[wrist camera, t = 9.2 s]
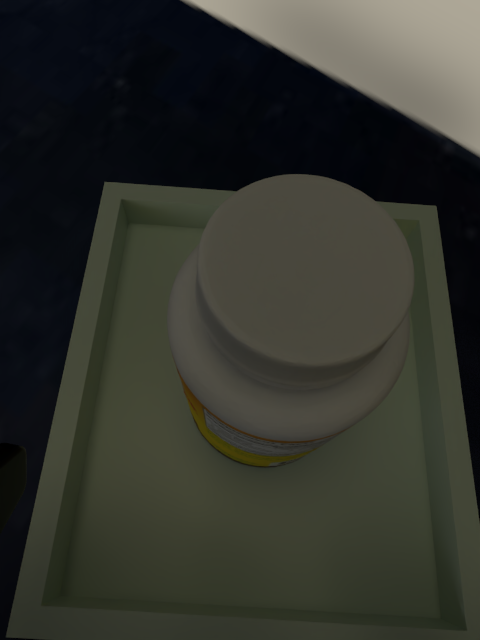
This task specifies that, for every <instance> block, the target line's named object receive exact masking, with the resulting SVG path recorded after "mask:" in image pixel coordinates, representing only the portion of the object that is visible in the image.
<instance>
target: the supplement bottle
mask: <svg viewBox="0 0 480 640" xmlns="http://www.w3.org/2000/svg"><path fill="white" fill-rule="evenodd" d="M414 282H415V281H414V264H413V259H412V255H411V252H410V249H409V247H408V244H407V241H406V239H405V237H404V235H403V233H402V231H401V230H400V228H399V227H398V225H397V224H396V222H395V221H394V220H393V219H392V217H391V216H390V215H389V214H388V213H387V212H386V211H385V210H384V209H383V208H382V207H381V206H380V205H379V204H378V203H377V202H376V201H374V200H373V199H372V198H370V197H369V196H367V195H366V194H364V193H363V192H361V191H359V190H357V189H355V188H353V187H351V186H349V185H347V184H345V183H342V182H339V181H336V180H333V179H330V178H326V177H321V176H314V175H304V174H289V175H280V176H274V177H270V178H266V179H263V180H260V181H257V182H254V183H252V184H250V185H248V186H246V187H244V188H242V189H240V190H239V191H237V192H236V193H234V194H233V195H231V196H230V197H229V198H228V199H227V200H225V201H224V202H223V203H222V204H221V205H220V206H219V208H218V209H217V210H216V211H215V212H214V214H213V215H212V217H211V218H210V219H209V221H208V223H207V225H206V227H205V229H204V231H203V234H202V237H201V240H200V243H199V244H198V245H197V246H196V248H195V249H194V250H193V251H192V252H191V253H190V255H189V256H188V257H187V259H186V260H185V262H184V263H183V265H182V267H181V268H180V270H179V272H178V274H177V276H176V278H175V281H174V283H173V286H172V290H171V293H170V298H169V303H168V311H167V329H168V337H169V343H170V348H171V352H172V356H173V359H174V362H175V365H176V368H177V372H178V374H179V377H180V380H181V383H182V386H183V390H184V394H185V395H186V398H187V401H188V404H189V407H190V411H191V414H192V416H193V419H194V422H195V424H196V426H197V428H198V430H199V431H200V433H201V434H202V436H203V437H204V438H205V439H206V441H207V442H208V443H209V444H210V445H211V446H212V447H213V448H214V449H216V450H217V451H218V452H219V453H221V454H222V455H224V456H225V457H227V458H229V459H231V460H233V461H235V462H237V463H240V464H243V465H247V466H252V467H263V468H268V467H277V466H282V465H286V464H289V463H292V462H294V461H296V460H299V459H301V458H302V457H304V456H306V455H307V454H309V453H311V452H312V451H314V450H316V449H317V448H319V447H321V446H322V445H324V444H325V443H327V442H328V441H330V440H332V439H333V438H335V437H336V436H338V435H339V434H341V433H342V432H344V431H345V430H347V429H349V428H350V427H352V426H353V425H355V424H356V423H358V422H359V421H361V420H362V419H364V418H365V417H366V416H367V415H369V414H370V413H371V412H372V411H373V410H374V409H375V408H377V407H378V405H379V404H380V403H381V402H382V401H383V400H384V399H385V398H386V397H387V395H388V394H389V393H390V391H391V390H392V388H393V387H394V385H395V383H396V382H397V380H398V378H399V376H400V374H401V372H402V369H403V366H404V364H405V360H406V357H407V353H408V348H409V340H410V323H409V312H408V309H409V307H410V304H411V300H412V297H413V291H414Z"/></svg>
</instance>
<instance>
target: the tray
mask: <svg viewBox="0 0 480 640" xmlns="http://www.w3.org/2000/svg"><path fill="white" fill-rule="evenodd" d="M234 193H236V191H223V190H209V189H195V188H181V187H168V186H154V185H140V184H126V183H112V182H105V184H104V188H103V193H102V198H101V202H100V207H99V211H98V216H97V221H96V225H95V230H94V234H93V239H92V244H91V248H90V253H89V257H88V262H87V267H86V271H85V276H84V280H83V285H82V289H81V294H80V299H79V303H78V308H77V312H76V317H75V322H74V326H73V331H72V335H71V340H70V345H69V349H68V354H67V358H66V363H65V368H64V372H63V377H62V381H61V386H60V390H59V395H58V400H57V404H56V409H55V413H54V418H53V423H52V427H51V432H50V436H49V441H48V446H47V450H46V455H45V459H44V464H43V469H42V473H41V478H40V482H39V487H38V492H37V496H36V501H35V505H34V510H33V514H32V519H31V524H30V528H29V533H28V537H27V542H26V547H25V551H24V556H23V560H22V565H21V570H20V574H19V579H18V583H17V588H16V593H15V597H14V602H13V606H12V611H11V615H10V620H9V625H8V629H7V634H6V637H10V638H28V639H45V640H480V523H479V516H478V508H477V501H476V494H475V486H474V479H473V472H472V464H471V457H470V450H469V442H468V435H467V428H466V420H465V413H464V406H463V398H462V391H461V384H460V376H459V369H458V361H457V354H456V347H455V339H454V332H453V325H452V317H451V310H450V303H449V295H448V288H447V281H446V273H445V266H444V259H443V251H442V244H441V237H440V229H439V222H438V214H437V207H436V206H429V205H416V204H402V203H388V202H377V203H378V204H379V205H380V206H381V207H382V208H383V209H384V210H385V211H386V212H387V213H388V214H389V215H390V216H391V217H392V219H393V220H394V221H395V222H396V224H397V225H398V227H399V228H400V230H401V231H402V233H403V235H404V237H405V239H406V241H407V244H408V247H409V249H410V252H411V255H412V259H413V264H414V281H415V282H414V291H413V297H412V300H411V304H410V307H409V309H408V312H409V323H410V340H409V348H408V353H407V357H406V360H405V364H404V366H403V369H402V372H401V374H400V376H399V378H398V380H397V382H396V383H395V385H394V387H393V388H392V390H391V391H390V393H389V394H388V395H387V397H386V398H385V399H384V400H383V401H382V402H381V403H380V404H379V405H378V407H377V408H375V409H374V410H373V411H372V412H371V413H370V414H369V415H367V416H366V417H365V418H364V419H362V420H361V421H359V422H358V423H356V424H355V425H353V426H352V427H350V428H349V429H347V430H345V431H344V432H342V433H341V434H339V435H338V436H336V437H335V438H333V439H332V440H330V441H328V442H327V443H325V444H324V445H322V446H321V447H319V448H317V449H316V450H314V451H312V452H311V453H309V454H307V455H306V456H304V457H302V458H301V459H299V460H296V461H294V462H292V463H289V464H286V465H282V466H277V467H268V468H263V467H252V466H247V465H243V464H240V463H237V462H235V461H233V460H231V459H229V458H227V457H225V456H224V455H222V454H221V453H219V452H218V451H217V450H216V449H214V448H213V447H212V446H211V445H210V444H209V443H208V442H207V441H206V439H205V438H204V437H203V436H202V434H201V433H200V431H199V430H198V428H197V426H196V424H195V422H194V419H193V416H192V414H191V411H190V407H189V404H188V401H187V398H186V395H185V394H184V390H183V386H182V383H181V380H180V377H179V374H178V372H177V368H176V365H175V362H174V359H173V356H172V352H171V348H170V343H169V337H168V329H167V311H168V303H169V298H170V293H171V290H172V286H173V283H174V281H175V278H176V276H177V274H178V272H179V270H180V268H181V267H182V265H183V263H184V262H185V260H186V259H187V257H188V256H189V255H190V253H191V252H192V251H193V250H194V249H195V248H196V246H197V245H198V244H199V243H200V240H201V237H202V234H203V231H204V229H205V227H206V225H207V223H208V221H209V219H210V218H211V217H212V215H213V214H214V212H215V211H216V210H217V209H218V208H219V206H220V205H221V204H222V203H223V202H224V201H225V200H227V199H228V198H229V197H230V196H231V195H233V194H234Z"/></svg>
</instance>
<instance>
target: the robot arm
mask: <svg viewBox="0 0 480 640" xmlns="http://www.w3.org/2000/svg"><path fill="white" fill-rule="evenodd" d="M25 486H26V450H25V448H24V447H22V446H18V445H14V444H9V443H1V444H0V533H1V532H2V530H3V528H4V526H5V524H6V523H7V521H8V519H9V517H10V515H11V514H12V512H13V510H14V508H15V506H16V505H17V503H18V501H19V499H20V497H21V496H22V494H23V492H24V489H25Z"/></svg>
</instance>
